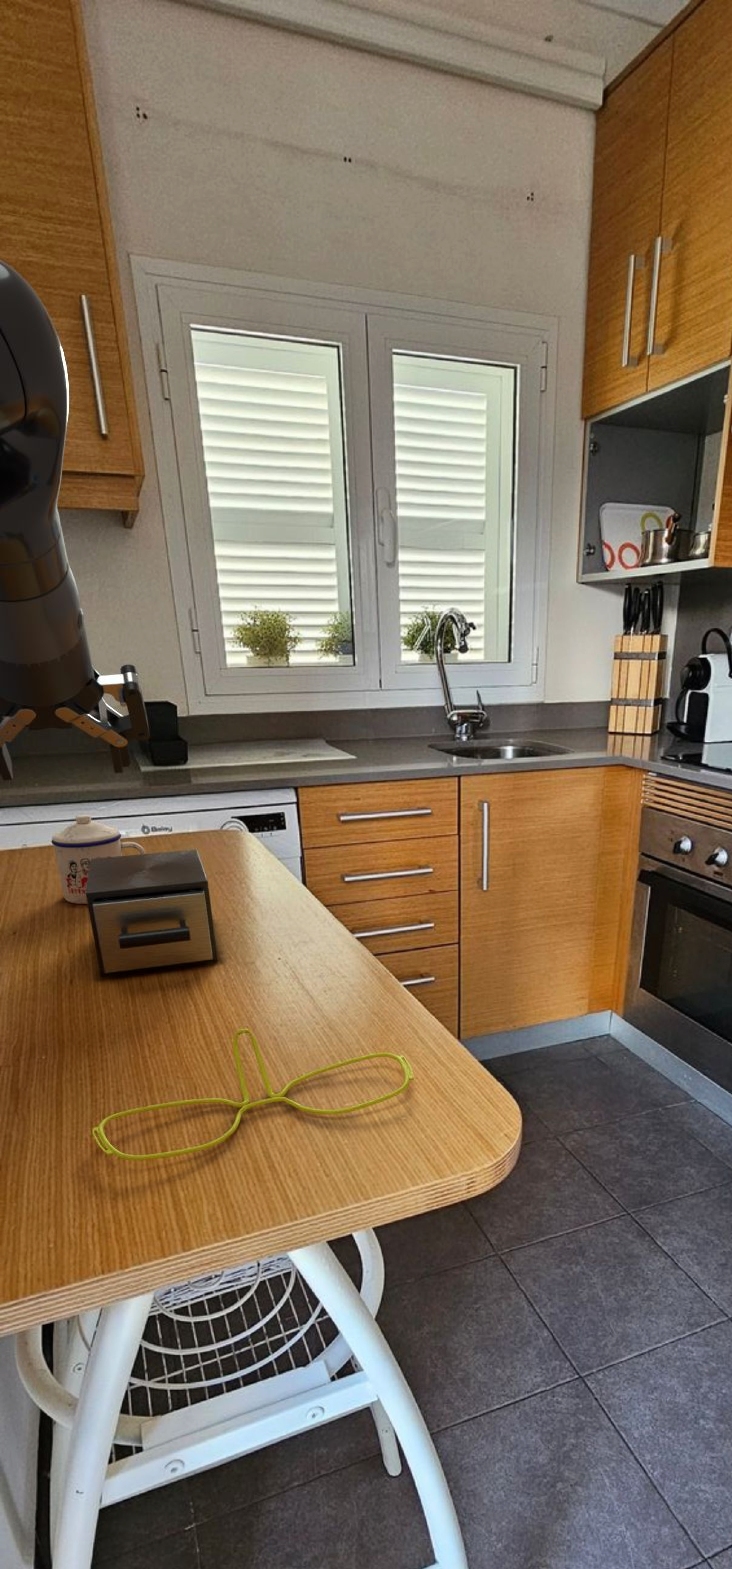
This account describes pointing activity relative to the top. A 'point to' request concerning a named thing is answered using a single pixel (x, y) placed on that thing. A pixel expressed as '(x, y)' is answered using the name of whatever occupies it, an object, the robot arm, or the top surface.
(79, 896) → the teacup with lid
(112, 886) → the metal drawer cabinet
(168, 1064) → the top surface
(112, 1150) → the glasses
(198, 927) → the silver drawer with handle
